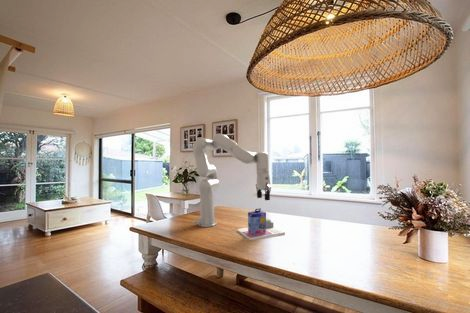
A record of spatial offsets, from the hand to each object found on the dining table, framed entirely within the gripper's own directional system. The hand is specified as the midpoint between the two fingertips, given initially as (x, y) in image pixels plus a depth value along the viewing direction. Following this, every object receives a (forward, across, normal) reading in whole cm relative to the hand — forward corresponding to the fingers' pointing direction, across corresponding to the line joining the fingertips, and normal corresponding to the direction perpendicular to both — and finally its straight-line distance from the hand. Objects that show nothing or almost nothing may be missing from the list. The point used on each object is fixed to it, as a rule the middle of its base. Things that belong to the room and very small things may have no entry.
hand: (263, 198), depth 138 cm
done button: (+17, +3, -4) cm, 17 cm away
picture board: (+20, -2, +4) cm, 20 cm away
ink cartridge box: (+19, -5, +8) cm, 21 cm away
